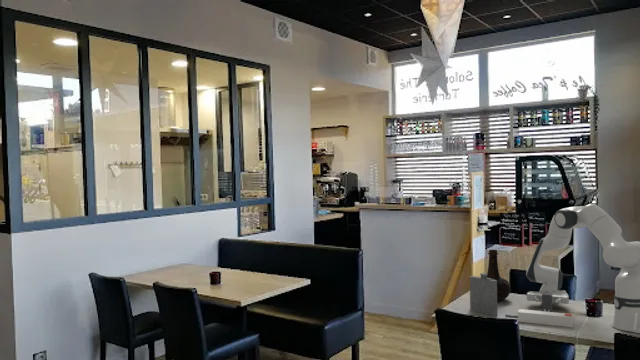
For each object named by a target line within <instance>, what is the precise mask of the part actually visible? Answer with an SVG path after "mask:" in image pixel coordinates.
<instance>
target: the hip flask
mask: <svg viewBox="0 0 640 360" xmlns="http://www.w3.org/2000/svg"><path fill="white" fill-rule="evenodd" d="M487 275H488V274H487V272H485V273H484V272H482V273H481V272H480V275H479V276H476V275H470V276H469V300H470V301H469V303H470V304H469V306H470V307H469V308H470V309H469V310H470V311H472V312H473V311H474V312H476V313H477V312H478V313H482V314H484V315H485V314H486V315H489V316H492V317H493V316H494V317H497V316H498V301H497V280H493V279H491V278H487Z"/></svg>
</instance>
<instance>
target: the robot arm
mask: <svg viewBox="0 0 640 360" xmlns="http://www.w3.org/2000/svg"><path fill="white" fill-rule="evenodd" d="M585 227H587V228H588V230H589V231H590V232H591V233H592V234H593V235H594V236H595V238H596V239H597V240H598V241H599V243H600V244H601V247H602V249H603V251H602V258H603V260H604V263H606V265H608V266H610V267H614V268H621V269H620V271H619V273H618V275H616V277H615V279H614V284H615V285H614V286H615V287H614V290H615V291H614V292H615V293H614V297H613V299H614V300H613V302H614V303H613V306H614V315H613V319H612V324H611V327H613V328H614V329H617V330H621V331H626V332H631V333H636V334H640V241H635V240H634V241H626V240H625V239H624V238H623V236H622V233H623V232H622V231H623V230H622V228H621V227H622V226H620V225H619V224H618V223H617V222H616V221H615V220H614V219H613V218H612V217H611V216H610V214H608V213H607V212H606V211H605V210H604V209H603V208H601V206H599V205H598V204H595V203H589V204H586V205H581V206H580V205H579V206H569V207H564V208H561V209H559V210H558V209H557V210H556V212H555V213H554V215H553V217H552V219H551V221H550V224H549V229H548V232H547V235H545V237H542V238H540V240H539V241H538V244H537V246H536V248H535V251H534V254H533V255H532V258H531V261H530V263H529V265H528V266H527V268H526V271H525V272H526V273H525V275H526V278H527V279H528V280H529V281H530V282H534V283H540V284H542V285H541V287H540V289H539V291H534V290H533V291H528V292H526V300H527V301H529V302H531V301H532V302H536V303H540V302H541V303H542V293H543V292H545V293H552V304H562V305H563V304H565V305H569V304H570V298H569V297H570V296H569V294H568V293H567V291H566V290H564V289H561V288H562V286H563V280H564V274H563V272H562V270H561V269H560V268H556V267H551V266H547V265H543V264H540V262H541V259H542V257H543V255H544V253H546V252H549V251H556V250H557V251H559V250H562V249H565V248H566V247H567V246H568V245H570V241H571V239H572V234H573V229H581V228H585Z"/></svg>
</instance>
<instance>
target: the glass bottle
mask: <svg viewBox="0 0 640 360" xmlns="http://www.w3.org/2000/svg"><path fill="white" fill-rule="evenodd" d="M487 254H488V264H487V265H488V266H487V267H488V268H487V272H486V273H487V274H488V275H487V278H491V279H493V280H497V302H500V301H503V300H506V299H507V298H508V297H509V296H510V294H511V290H512V289H511V284H510V282H509V281H508V280H507V279H505V278H502V277H501V275H500V272H499V271H500V270H499V263H498V262H499V261H498V255H499V252H498V250H497V249H489V250H488V252H487Z"/></svg>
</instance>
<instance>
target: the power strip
mask: <svg viewBox="0 0 640 360" xmlns="http://www.w3.org/2000/svg"><path fill="white" fill-rule="evenodd" d="M505 318H508V319H509V318H510V319H511V318H512V319H517V321H518V320H519V322H518V323H529V324H538V325H545V326H546V325H549V326H557V327H568V328H574V325H575V322H574V321H575V319H574V313H571V312H570V313H567V312H557V311H556V312H553V311H552V312H546V311H542V310H533V309H522V308H519V309H518V311H517V315H512V314H505Z"/></svg>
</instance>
